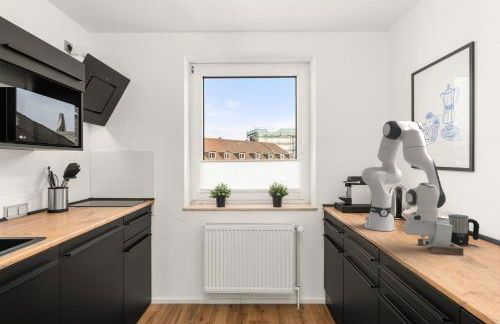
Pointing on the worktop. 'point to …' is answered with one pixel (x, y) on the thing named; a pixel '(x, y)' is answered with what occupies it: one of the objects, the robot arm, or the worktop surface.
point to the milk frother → (462, 229)
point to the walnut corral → (444, 249)
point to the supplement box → (441, 235)
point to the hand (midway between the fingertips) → (426, 244)
